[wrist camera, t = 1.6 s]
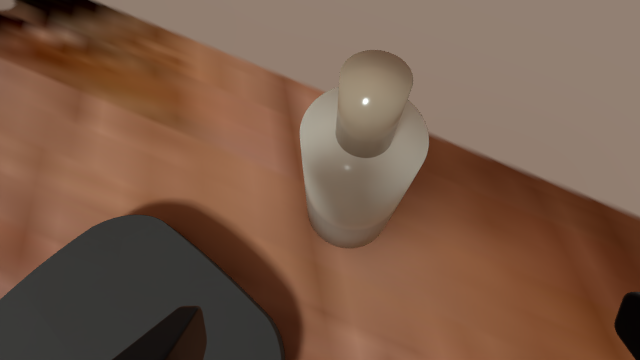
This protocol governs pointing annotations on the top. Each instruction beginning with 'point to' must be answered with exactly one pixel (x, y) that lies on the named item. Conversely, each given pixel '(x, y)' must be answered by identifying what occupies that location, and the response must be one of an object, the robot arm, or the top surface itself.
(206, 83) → the top surface
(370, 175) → the bottle
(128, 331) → the media streaming box
